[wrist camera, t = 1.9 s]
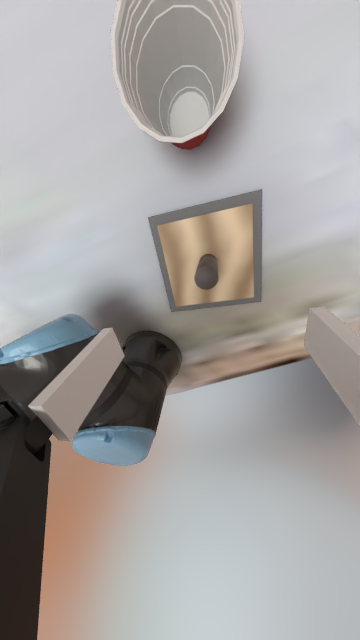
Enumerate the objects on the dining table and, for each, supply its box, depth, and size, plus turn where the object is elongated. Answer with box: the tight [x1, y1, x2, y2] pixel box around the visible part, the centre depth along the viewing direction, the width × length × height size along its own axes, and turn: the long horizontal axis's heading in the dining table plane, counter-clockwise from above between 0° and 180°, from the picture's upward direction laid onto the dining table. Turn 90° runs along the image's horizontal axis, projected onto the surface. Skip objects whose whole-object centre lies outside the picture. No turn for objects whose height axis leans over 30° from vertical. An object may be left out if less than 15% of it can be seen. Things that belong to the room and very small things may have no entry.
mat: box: [148, 189, 262, 312], centre depth 33 cm, size 18×18×1 cm
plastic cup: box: [111, 0, 244, 149], centre depth 20 cm, size 11×11×12 cm
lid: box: [157, 204, 254, 307], centre depth 29 cm, size 15×15×10 cm
